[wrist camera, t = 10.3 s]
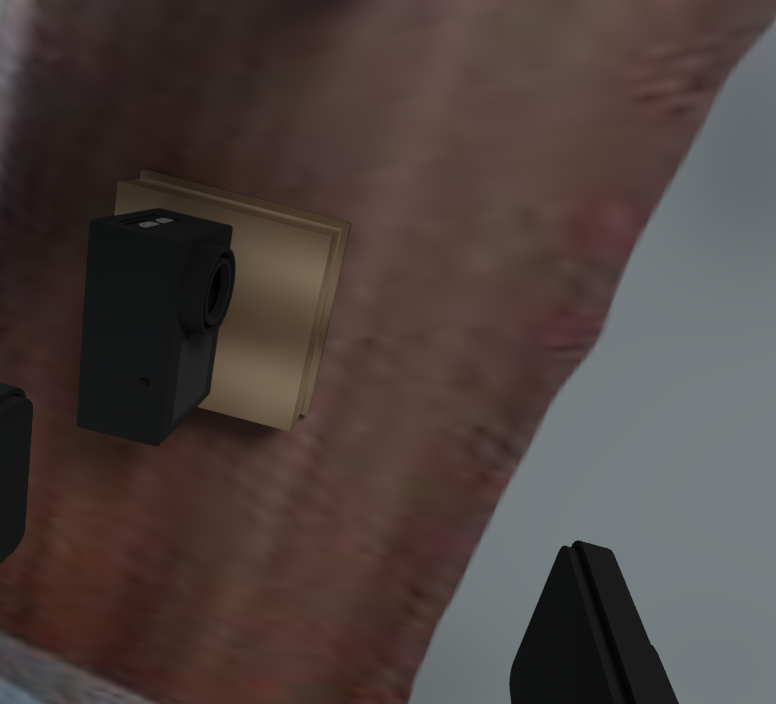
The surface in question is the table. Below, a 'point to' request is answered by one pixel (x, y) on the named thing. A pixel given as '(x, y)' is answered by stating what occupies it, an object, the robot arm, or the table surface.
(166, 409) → the digital camera
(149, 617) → the table surface
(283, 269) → the plinth
